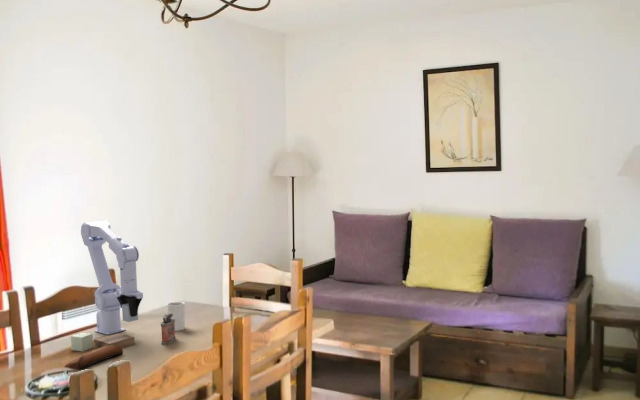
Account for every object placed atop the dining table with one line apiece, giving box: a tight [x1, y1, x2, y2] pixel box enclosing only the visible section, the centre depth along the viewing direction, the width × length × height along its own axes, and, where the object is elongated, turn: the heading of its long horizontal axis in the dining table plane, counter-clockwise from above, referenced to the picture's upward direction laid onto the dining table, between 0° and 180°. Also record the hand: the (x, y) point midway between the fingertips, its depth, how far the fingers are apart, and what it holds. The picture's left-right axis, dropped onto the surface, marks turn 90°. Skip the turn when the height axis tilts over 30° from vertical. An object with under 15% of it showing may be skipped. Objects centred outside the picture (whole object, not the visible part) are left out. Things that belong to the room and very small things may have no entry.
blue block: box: [121, 303, 139, 323], centre depth 231 cm, size 4×4×6 cm
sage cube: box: [70, 332, 94, 352], centre depth 219 cm, size 5×5×5 cm
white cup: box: [166, 301, 186, 332], centre depth 243 cm, size 7×7×10 cm
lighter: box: [160, 313, 177, 346], centre depth 225 cm, size 8×3×10 cm, turn 168°
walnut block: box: [93, 332, 135, 349], centre depth 223 cm, size 10×10×3 cm
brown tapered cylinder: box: [64, 345, 124, 371], centre depth 205 cm, size 18×7×7 cm
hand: (130, 315), depth 231 cm, fingers closed on blue block, 4 cm apart
